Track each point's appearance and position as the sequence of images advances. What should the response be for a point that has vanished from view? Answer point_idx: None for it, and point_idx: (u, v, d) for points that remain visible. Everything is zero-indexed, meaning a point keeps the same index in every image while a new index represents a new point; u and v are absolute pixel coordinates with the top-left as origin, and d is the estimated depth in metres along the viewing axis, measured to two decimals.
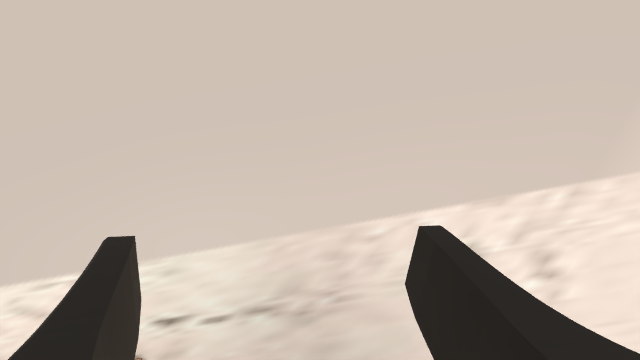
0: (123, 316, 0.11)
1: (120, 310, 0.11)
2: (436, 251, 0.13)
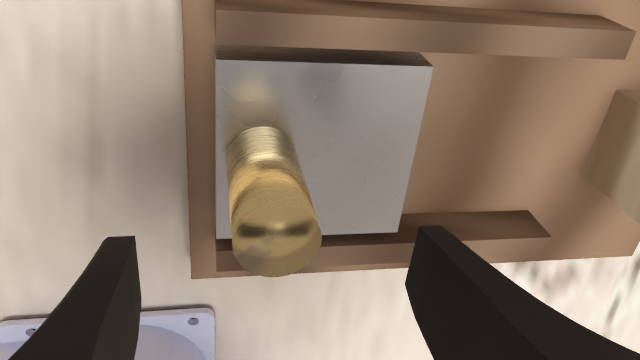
0: (123, 316, 0.11)
1: (120, 310, 0.11)
2: (436, 251, 0.13)
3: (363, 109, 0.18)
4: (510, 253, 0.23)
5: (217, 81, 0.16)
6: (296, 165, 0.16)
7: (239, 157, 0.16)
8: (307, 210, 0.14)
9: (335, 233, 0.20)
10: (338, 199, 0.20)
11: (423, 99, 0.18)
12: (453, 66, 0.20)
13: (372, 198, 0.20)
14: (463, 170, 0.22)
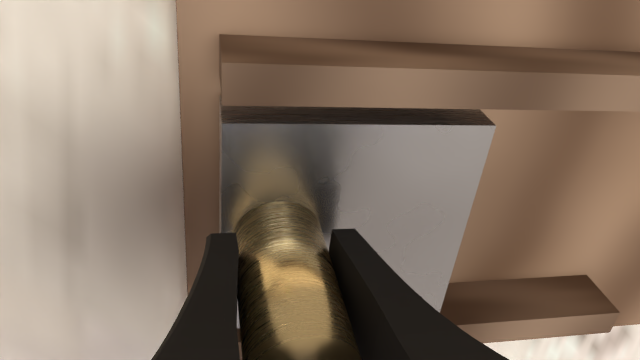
0: (236, 309, 0.12)
1: None
2: (342, 255, 0.12)
3: (406, 177, 0.14)
4: (570, 331, 0.19)
5: (223, 149, 0.13)
6: (325, 259, 0.13)
7: (251, 248, 0.13)
8: (345, 338, 0.11)
9: None
10: None
11: (481, 164, 0.14)
12: (512, 117, 0.16)
13: (411, 278, 0.16)
14: (515, 234, 0.19)
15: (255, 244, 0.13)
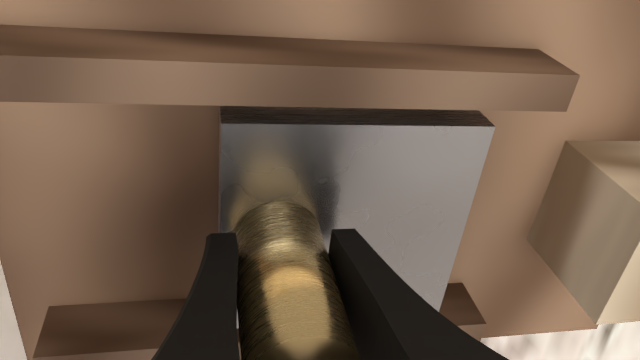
0: (236, 309, 0.12)
1: (236, 303, 0.11)
2: (342, 255, 0.12)
3: (405, 178, 0.14)
4: None
5: (222, 150, 0.13)
6: (324, 259, 0.13)
7: (250, 248, 0.13)
8: (344, 338, 0.11)
9: None
10: None
11: (480, 165, 0.14)
12: None
13: (410, 278, 0.16)
14: None
15: (254, 244, 0.13)
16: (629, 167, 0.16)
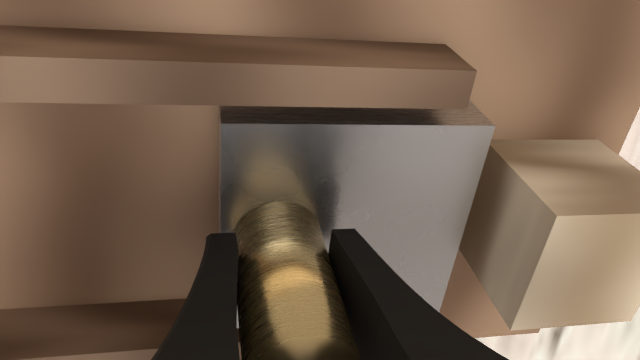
0: (236, 309, 0.12)
1: (236, 303, 0.11)
2: (342, 255, 0.12)
3: (405, 178, 0.14)
4: None
5: (222, 150, 0.13)
6: (324, 259, 0.13)
7: (250, 248, 0.13)
8: (344, 338, 0.11)
9: None
10: None
11: (480, 164, 0.14)
12: None
13: (411, 278, 0.16)
14: None
15: (254, 244, 0.13)
16: (545, 167, 0.15)
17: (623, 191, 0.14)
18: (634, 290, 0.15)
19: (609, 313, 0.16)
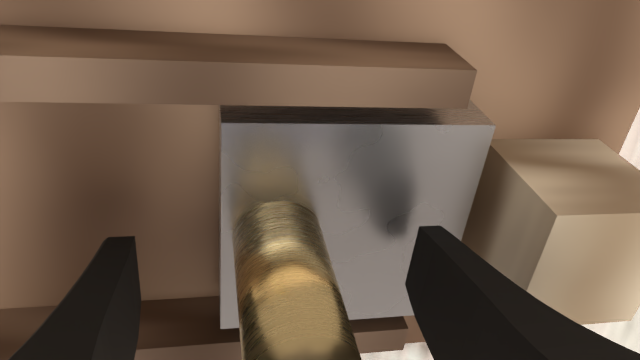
0: (123, 316, 0.11)
1: (120, 310, 0.11)
2: (436, 251, 0.13)
3: (406, 177, 0.14)
4: None
5: (223, 149, 0.13)
6: (324, 258, 0.13)
7: (251, 247, 0.13)
8: (345, 337, 0.11)
9: (365, 317, 0.17)
10: (370, 280, 0.16)
11: (480, 164, 0.14)
12: None
13: None
14: None
15: (255, 244, 0.13)
16: (545, 166, 0.15)
17: (623, 191, 0.14)
18: (634, 290, 0.15)
19: (609, 313, 0.16)
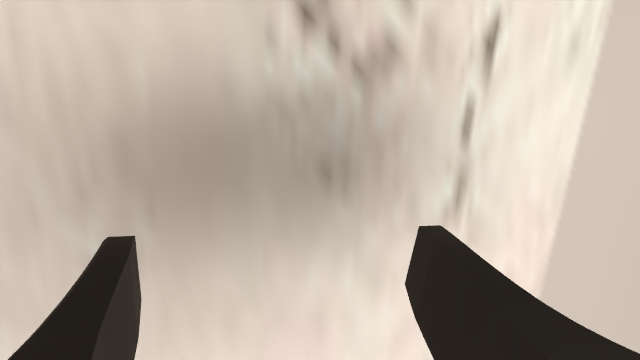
0: (123, 316, 0.11)
1: (120, 310, 0.11)
2: (436, 251, 0.13)
3: None
4: None
5: None
6: None
7: None
8: None
9: None
10: None
11: None
12: None
13: None
14: None
15: None
16: None
17: None
18: None
19: None
